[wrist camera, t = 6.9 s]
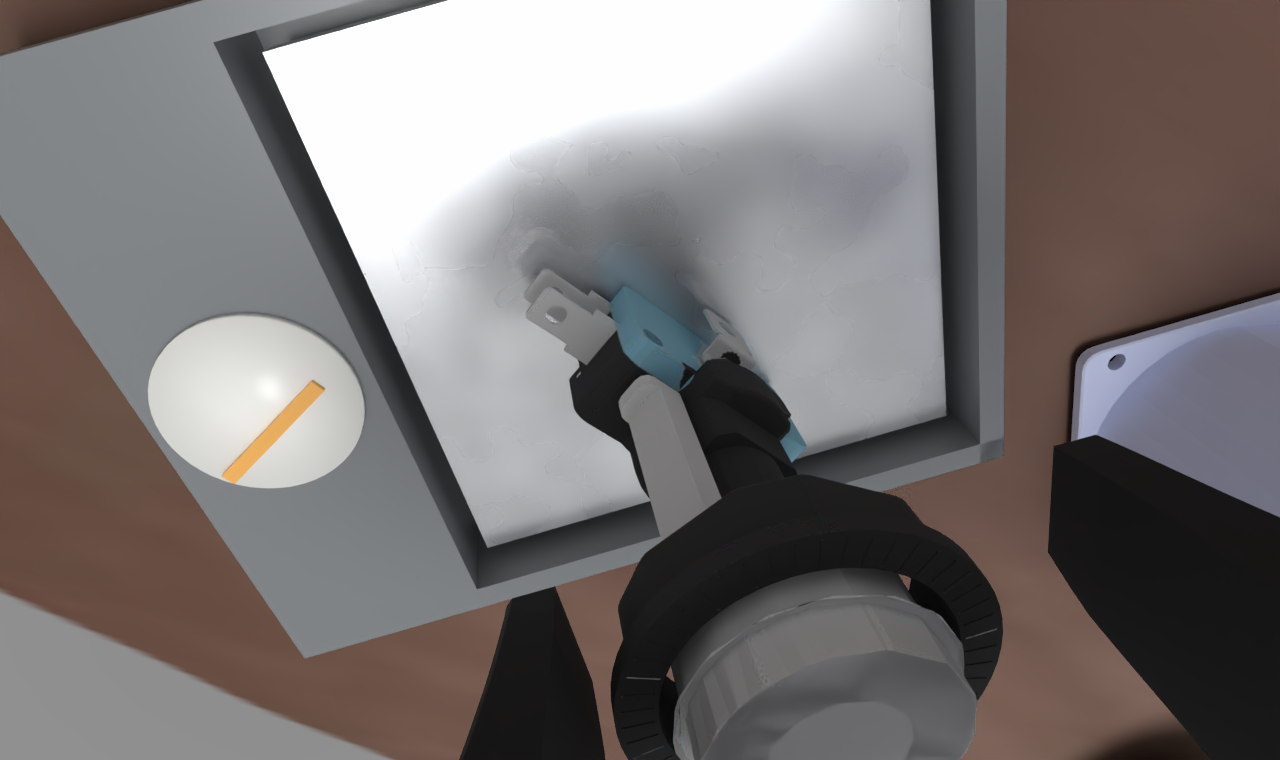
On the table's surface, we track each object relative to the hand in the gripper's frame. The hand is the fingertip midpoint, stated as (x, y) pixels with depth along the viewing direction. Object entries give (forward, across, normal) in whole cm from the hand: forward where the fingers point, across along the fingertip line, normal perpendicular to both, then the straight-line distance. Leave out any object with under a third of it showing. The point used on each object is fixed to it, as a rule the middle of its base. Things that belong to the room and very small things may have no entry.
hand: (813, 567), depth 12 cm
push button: (+8, +1, 0) cm, 8 cm away
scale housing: (+10, +2, -2) cm, 11 cm away
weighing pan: (+9, 0, -2) cm, 9 cm away
